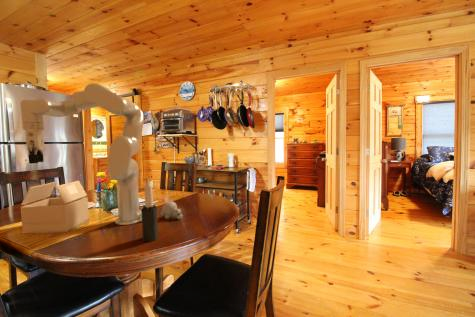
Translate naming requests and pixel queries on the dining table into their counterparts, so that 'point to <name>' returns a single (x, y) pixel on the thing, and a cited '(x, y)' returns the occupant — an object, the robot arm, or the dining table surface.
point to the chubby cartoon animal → (171, 210)
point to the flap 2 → (71, 191)
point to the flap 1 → (38, 192)
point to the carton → (54, 215)
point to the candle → (149, 215)
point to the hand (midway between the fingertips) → (36, 162)
